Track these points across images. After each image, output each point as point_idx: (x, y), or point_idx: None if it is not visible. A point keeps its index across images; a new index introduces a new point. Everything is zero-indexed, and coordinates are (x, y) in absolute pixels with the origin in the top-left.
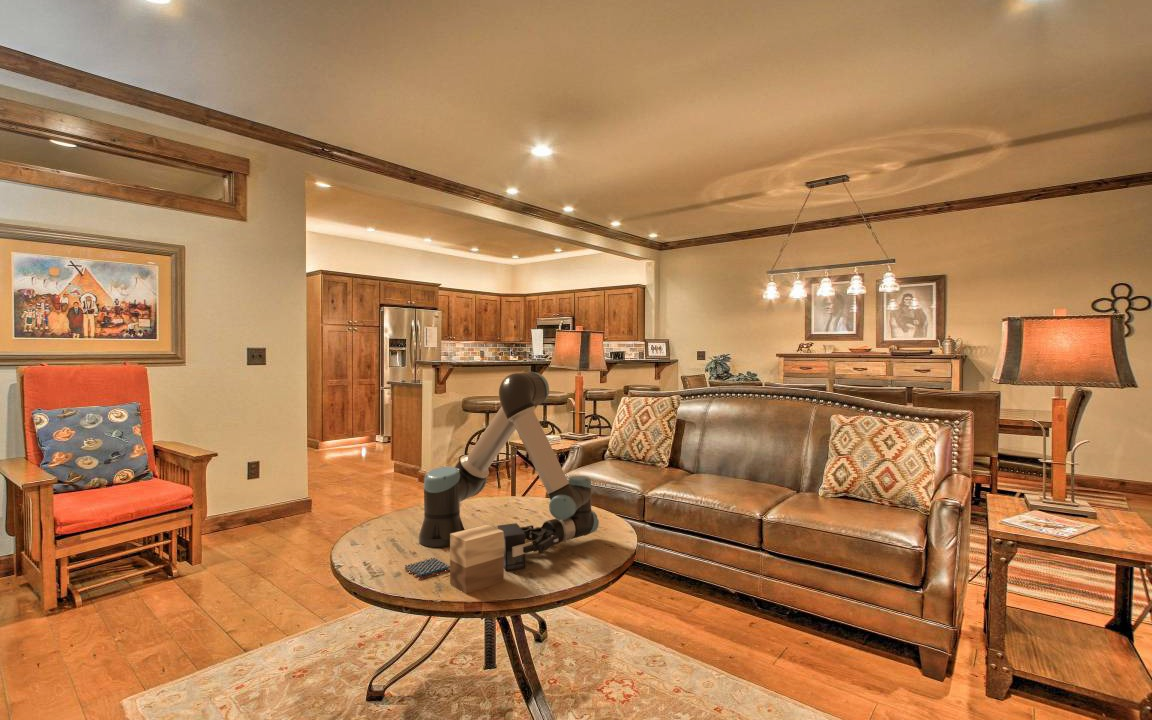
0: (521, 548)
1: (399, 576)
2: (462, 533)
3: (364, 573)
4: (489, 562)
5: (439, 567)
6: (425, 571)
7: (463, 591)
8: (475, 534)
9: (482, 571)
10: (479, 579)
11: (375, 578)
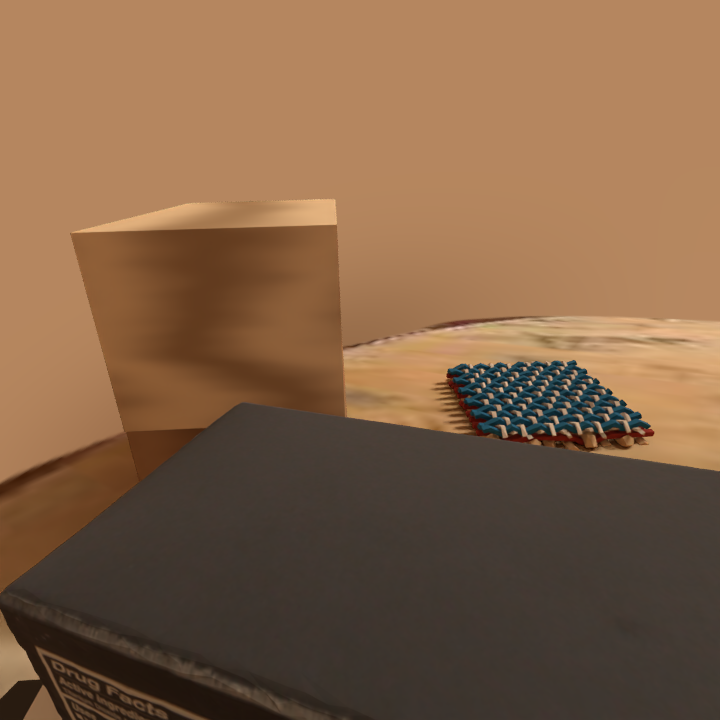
0: None
1: (513, 361)
2: (294, 203)
3: (576, 331)
4: None
5: (496, 406)
6: (483, 380)
7: None
8: (220, 209)
9: None
10: None
11: (524, 337)
